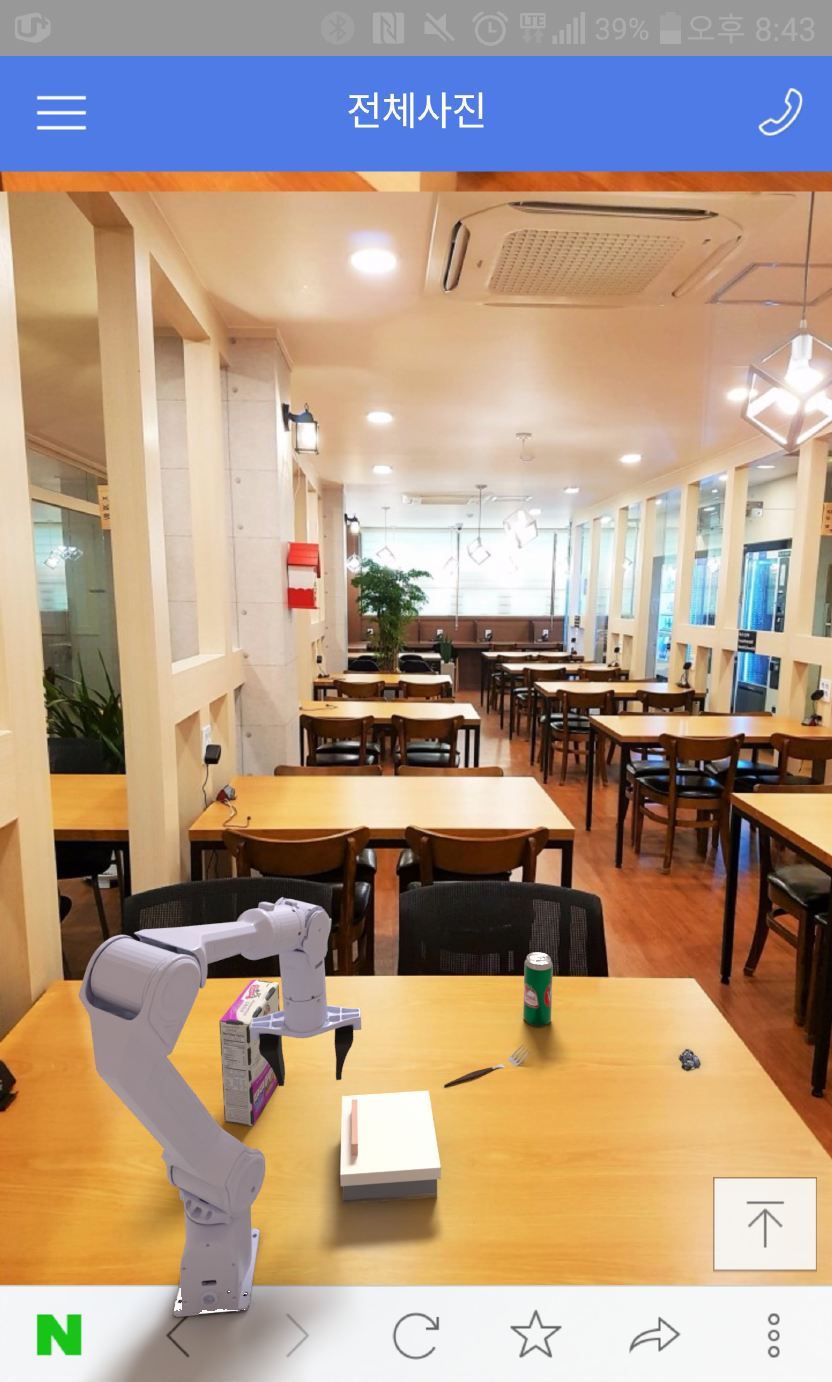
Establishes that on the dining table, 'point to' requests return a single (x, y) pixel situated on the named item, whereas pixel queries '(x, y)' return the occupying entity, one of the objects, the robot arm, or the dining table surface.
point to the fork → (484, 1071)
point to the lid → (388, 1139)
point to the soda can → (537, 989)
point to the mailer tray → (389, 1191)
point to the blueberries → (689, 1060)
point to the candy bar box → (246, 1054)
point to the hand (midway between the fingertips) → (310, 1077)
